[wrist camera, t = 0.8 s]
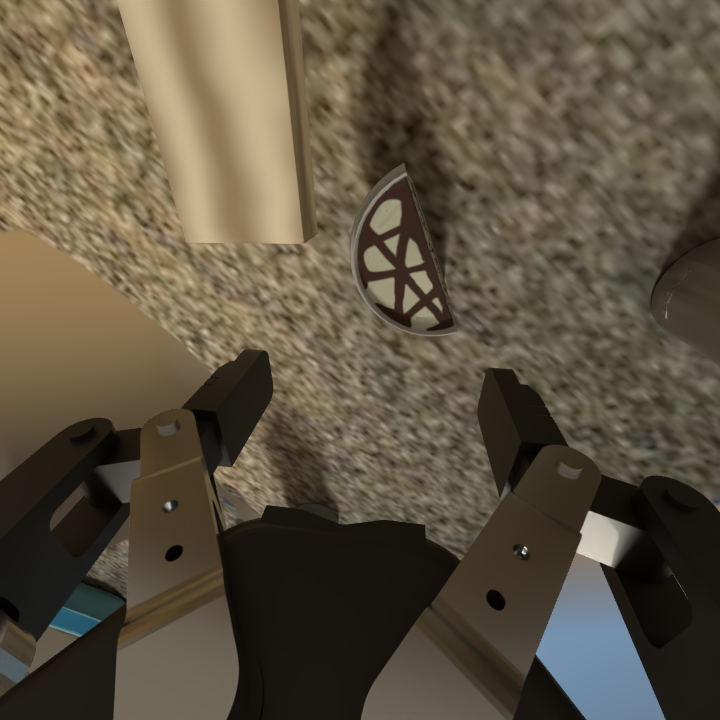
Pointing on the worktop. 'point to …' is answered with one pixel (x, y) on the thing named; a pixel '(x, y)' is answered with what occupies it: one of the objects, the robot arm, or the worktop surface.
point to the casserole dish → (85, 609)
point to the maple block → (228, 114)
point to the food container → (399, 260)
